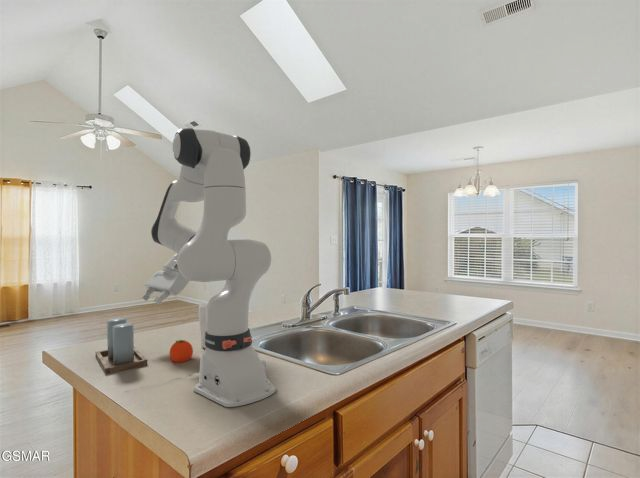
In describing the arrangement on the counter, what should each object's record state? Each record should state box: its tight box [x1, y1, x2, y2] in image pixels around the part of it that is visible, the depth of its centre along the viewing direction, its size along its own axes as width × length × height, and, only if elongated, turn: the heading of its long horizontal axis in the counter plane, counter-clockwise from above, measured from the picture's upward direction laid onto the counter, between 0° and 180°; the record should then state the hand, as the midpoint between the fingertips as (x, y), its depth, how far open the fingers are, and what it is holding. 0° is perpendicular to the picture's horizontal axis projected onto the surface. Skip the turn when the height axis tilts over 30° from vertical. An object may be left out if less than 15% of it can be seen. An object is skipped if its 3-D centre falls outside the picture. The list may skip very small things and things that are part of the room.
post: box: [106, 317, 128, 360], centre depth 117 cm, size 6×6×12 cm
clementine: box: [169, 339, 194, 363], centre depth 114 cm, size 8×7×7 cm
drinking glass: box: [198, 303, 208, 349], centre depth 130 cm, size 7×7×15 cm
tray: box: [95, 346, 148, 375], centre depth 114 cm, size 19×11×2 cm, turn 39°
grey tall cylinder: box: [113, 322, 135, 366], centre depth 110 cm, size 6×6×12 cm
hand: (149, 301), depth 125 cm, fingers open, 8 cm apart
